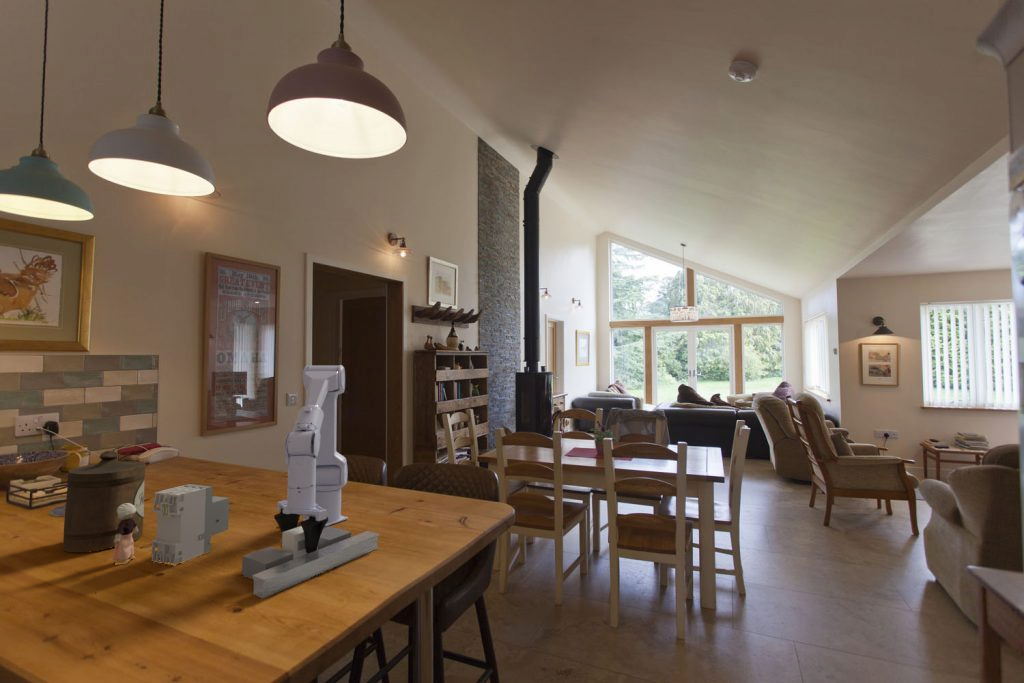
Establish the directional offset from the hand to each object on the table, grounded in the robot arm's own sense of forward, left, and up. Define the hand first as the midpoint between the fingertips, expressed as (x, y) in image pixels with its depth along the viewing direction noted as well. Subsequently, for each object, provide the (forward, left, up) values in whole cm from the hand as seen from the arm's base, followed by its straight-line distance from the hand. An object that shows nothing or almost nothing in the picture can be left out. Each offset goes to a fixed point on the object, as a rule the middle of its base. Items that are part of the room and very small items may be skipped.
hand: (300, 548), depth 104 cm
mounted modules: (0, 0, -3) cm, 3 cm away
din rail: (+8, 0, -3) cm, 8 cm away
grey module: (0, 0, -3) cm, 3 cm away
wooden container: (-52, -17, -3) cm, 55 cm away
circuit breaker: (-26, -9, -3) cm, 28 cm away
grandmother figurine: (-33, -20, -3) cm, 39 cm away
